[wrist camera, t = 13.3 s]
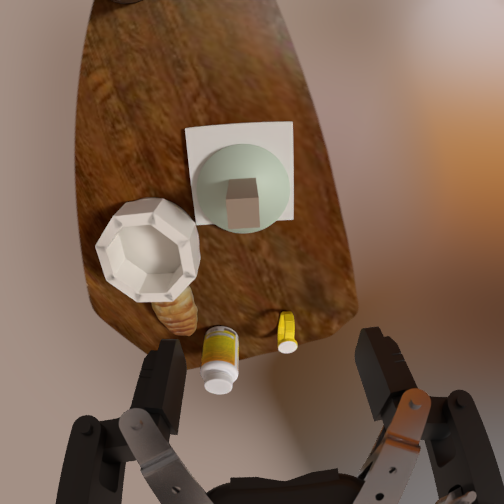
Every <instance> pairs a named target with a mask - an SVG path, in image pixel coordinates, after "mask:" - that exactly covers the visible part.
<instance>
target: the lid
mask: <svg viewBox="0 0 504 504" xmlns="http://www.w3.org/2000/svg"><path fill="white" fill-rule="evenodd" d="M196 190H197V198H198V202H199V205H200V207H201V209H202V211H203V212H204V214H205V215H206V216H207V218H208V219H209V220H210V221H211V222H213V223H214V224H215V225H217V226H218V227H220V228H222V229H224V230H227V231H230V232H234V233H252V232H256V231H259V230H262V229H264V228H266V227H268V226H270V225H271V224H273V223H274V222H275V221H276V220H277V219H278V218H279V217H280V216H281V215H282V213H283V212H284V210H285V208H286V206H287V204H288V201H289V196H290V182H289V177H288V174H287V172H286V170H285V168H284V166H283V164H282V163H281V162H280V160H279V159H278V158H277V157H276V156H275V155H274V154H272V153H271V152H270V151H268V150H266V149H264V148H262V147H260V146H256V145H252V144H235V145H231V146H227V147H225V148H222V149H221V150H219V151H217V152H216V153H215V154H213V155H212V156H211V157H210V158H209V159H208V160H207V161H206V163H205V164H204V166H203V167H202V169H201V171H200V174H199V176H198V180H197V188H196Z"/></svg>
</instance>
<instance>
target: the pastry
mask: <svg viewBox="0 0 504 504" xmlns="http://www.w3.org/2000/svg"><path fill="white" fill-rule="evenodd" d="M151 304H152V309H153V310H154V312H155V313H156V316H157V318H158V319H159V320H160V321H161V322H162V323H163V324H164V326H166V327H167V328H168V329H169V330H170V331H171V332H173V333H174V334H175V335H186V336H190V335H192V334H193V333H194V332H195V330H196V324H197V320H198V319H197V311H198V309H197V307H196V305H195V303H194V298H193V294H192V292H191V288H190V286H187V287H186V289H185V290H184V291H183V292H182V293H181V294H180V295H179V296H178V297H177V298H176V299H175V300H174V301H173V302H151Z"/></svg>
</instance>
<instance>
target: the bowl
mask: <svg viewBox="0 0 504 504" xmlns="http://www.w3.org/2000/svg"><path fill="white" fill-rule="evenodd" d="M95 248H96V251H97V254H98V257H99V260H100V264H101V267H102V270H103V273H104V276H105V278H106V281H108V282H109V283H110V284H112V285H113V286H115V287H116V288H117V289H119V290H120V291H122V292H123V293H125V294H126V295H127V296H129V297H130V298H132V299H133V300H135V301H136V302H173V301H174V300H175V299H176V298H177V297H178V296H179V295H180V294H181V293H182V292H183V291H184V290H185V289H186V287H187V286H188V285H189V284H190V283H191V282H192V281H193V280H194V279H195V278H196V275H197V271H198V267H199V263H200V259H201V257H200V251H199V235H198V231H197V228H196V223H195V222H194V221H193V220H192V219H191V217H190V216H189V215H188V214H187V213H186V212H185V211H184V210H183V209H182V208H181V207H179V206H178V205H176V204H175V203H173V202H171V201H168V200H165V199H164V198H155V197H148V198H142V199H139V200H136V201H134V202H126V203H125V204H124V205H123V206H122V207H121V208H120V209H119V210H118V211H117V212H116V213H115V215H114V216H113V217H112V218H111V220H110V222H109V223H108V225H107V227H106V228H105V230H104V232H103V233H102V235H101V237H100V238H99V240H98V242H97V244H96V245H95Z"/></svg>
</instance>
